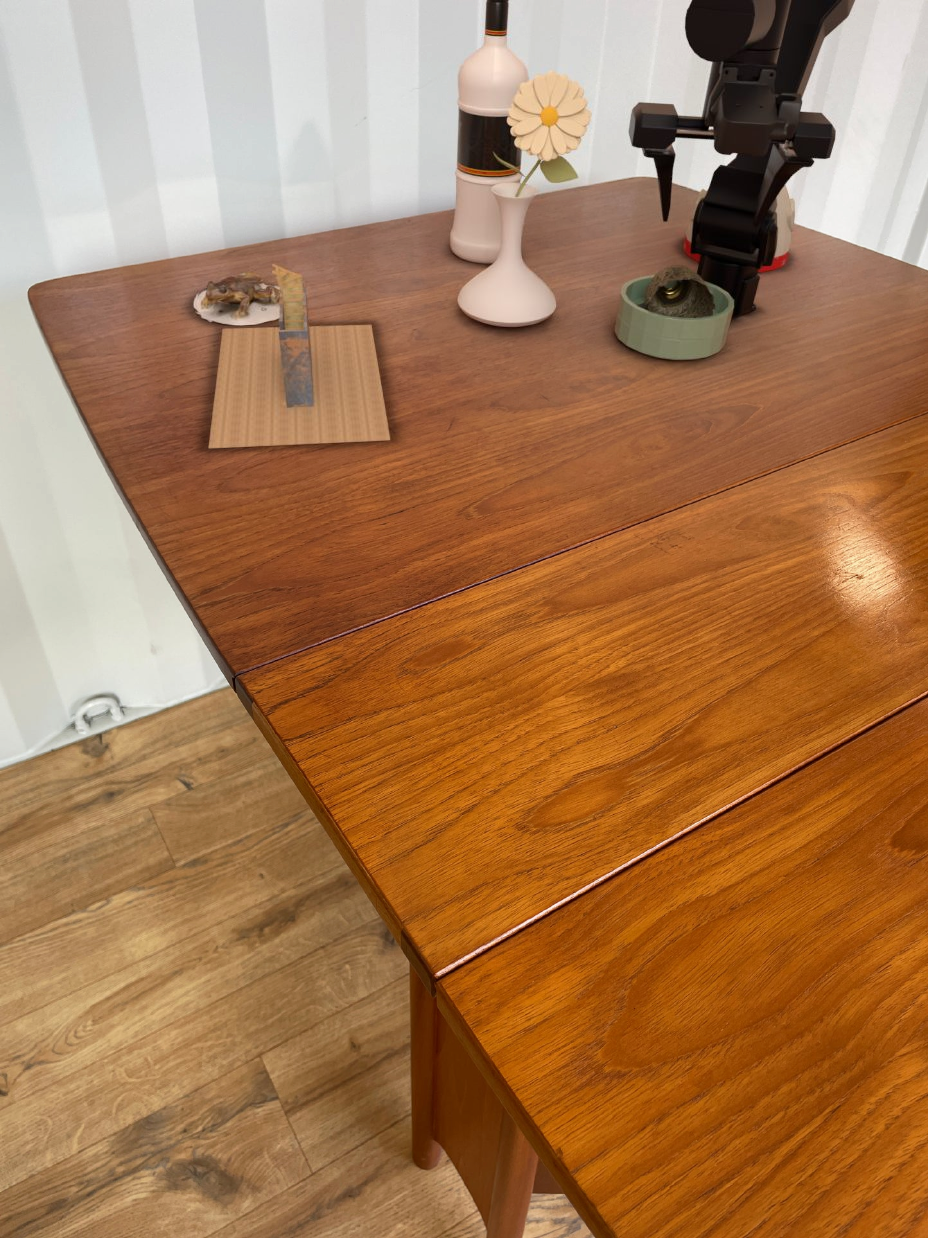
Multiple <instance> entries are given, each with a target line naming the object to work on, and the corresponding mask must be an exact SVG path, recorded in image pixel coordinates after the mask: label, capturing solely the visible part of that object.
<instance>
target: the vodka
mask: <svg viewBox="0 0 928 1238" xmlns="http://www.w3.org/2000/svg"><path fill="white" fill-rule="evenodd" d="M509 1H510V0H486V2H485V20H484V21H485V22H484V36H483V44H482V46H481V47H479V48H478V49H477V50H476V51H475V52H473V53H472V54H471V55H470V56H468V57H467V58H466V59H464V61H463V62H462V64H461V65H460V67H459V70H458V73H457V90H458V91H457V92H458V98H457V100H456V101H457V102H456V103H457V106H458V111H457V113H458V115H457V145H456V146H457V147H456V150H457V151H456V169H455V171H454V174H455V192H456V193H455V205H454V206H455V207H454V216H453V221H452V227H451V230H450V234H449V246H450V250H451V251H452V253H453V254H454V255H456V256H457V257H459V258H460V259H461V260H463V261H467V262H470V263H474V264H483V265H485V264H486V265H492V264H493V263H494V262H495V261H496V260H497V258H498V256H499V252H500V247H501V231H502V229H501V215H500V209H499V205H498V202H497V200H496V198H495V196H494V194H493V193H492V191H491V188H492V187H493V186H494V185H497V184H500V183H521V181H522V177H523V176H522V175H520V174H519V173H518V172H516V171H514V170H513V169H511V168H509V167H507V166H505V165H504V164H502V163H501V162H499V161H498V160H497V159H496V157H495V155H496V156H497V157H498V158H500V159H501V160H503V161H504V162H507V163H509V164H511V165H513V166H514V167H516V168H517V169H518V170H519V171H520V172H521V173H522V171H521V169H522V157H523V156H522V155H523V151H522V150H521V149H520V148H518V147H516V146H515V144H514V141H515V139H516V137H515V136H513V135H512V134H511V132H510V131H511V128H512V127H513V126H510V125H509V124H508V123H507V118H508V117H509V114H508V112H509V109H510V108H512V107H511V104H512V102H513V101H514V97H515V95H517V91H518V90H519V87H520V84H521V83H523V82H525V83H527V82H528V81H530V76H529V72H528V69H527V67H526V65H525V63H524V62H523V60H522V59H520V58H519V57H518V56H517V55H516V54H515V53H514V51H512V50H511V49H510V48H509V47H508V45H507V43H508V38H507V37H508V22H509V5H510V3H509ZM493 152H494V153H495V155H494V153H493Z"/></svg>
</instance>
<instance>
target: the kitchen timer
mask: <svg viewBox="0 0 928 1238" xmlns="http://www.w3.org/2000/svg"><path fill="white" fill-rule="evenodd" d="M707 191H708V189H707V190H706V189H704V188H701V190H700V192H699V194H698V197H697V199H696V202H695V205H694V207H693V209H692V213H691V215H690V218H689V219H690V221H689V223H688V226H687V229H686V232H685V236H684V240H683V241H684V242H683V246H682V248H683V251H684V253H685V254H686V255H687V256H688V257H689V258H690V259H691V260H694V261H696V262H697V263H699V259H700V255H699V254H692V253H690V251H691V239H692V228H693V219H694V215H695V211H696V208H697V206H698V203H699V201H700V200H701V199H702V198H703V197H705V195H706V193H707ZM776 198H777V208H776V211H775V212H777V227H778V239H777V248H776V253H775V257H774V260H773V264H772V265H771V266H763V267H762V268H761V269H759V270H758V273H762V272H770V271H773V270H777V269H780V268H782V267H783V266H784V265H786V264H787V261H788V257H789V253H790V250H791V245H792V240H793V232H794V229H795V217H796V201H795V199H794V198H793V197H790V194H789V191H788V187H787V186H786V184H785V186H784V187H783V188H782V190H781V191H780V193H779V194H778V196H777V197H776Z"/></svg>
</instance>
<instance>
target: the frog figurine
mask: <svg viewBox="0 0 928 1238" xmlns="http://www.w3.org/2000/svg"><path fill="white" fill-rule="evenodd" d="M206 287H207V288H204V289H203V290H201V292H198V293H196V294H195V297H194V300H193V308H194V309H195V313H196V314H198V315H199V316H200V318H201V319H203V320H206V321H208V322H209V323H213V322H215V323H219V324H223V325H229V326H251V325H253V326H254V325H260V324H264V323H266V322H272V321H276V320H279V310H280V297H279V292H280V287H279V284H274V285H270V284H269V285H268V284H265V283H264V279H263V277H262V276H261V275H259V274H258V273H256V272H255V270H252V269H250V270H248V271H246V272H242V273H240V274H239V275H237V276H236V277H234V276H231V275H230V276H227V277H225V278H223V279H221V281H218V282H213V280H209V281H208V282H207V285H206Z"/></svg>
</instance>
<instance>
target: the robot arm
mask: <svg viewBox="0 0 928 1238" xmlns="http://www.w3.org/2000/svg"><path fill="white" fill-rule="evenodd" d="M855 2H856V0H691V1H690V4H689V5H688V8H687V9H686V13H685V18H684V31H685V38H686V40H687V43H688V46H689V47H690V49H691V50H692V51H693V53H694V54H695V55H696V56H698V58H700V59H702V60H704V61H706V62H710V63H711V66H710V72H709V77H708V82H707V87H706V92H705V98H704V103H703V108H702V109H703V110H702V113H701V116H696V115H679V114H678V111H677V109H676V107H675V104H674V103H661V102H660V103H659V102H641V101H639V102H638V103H637V104H635V106H633V108H631V112H630V119H629V125H628V126H629V127H628V136H629V140H630V145H631V147H634V148H637V149H641V150H642V155H643V157H645V158H648V159H653V162H654V166H655V172H656V176H657V177H656V178H657V185H658V192H659V200H660V209H661V217H662V222H663V223H667V222H668V221H669V216H670V211H671V202H672V189H673V176H674V166H675V160H676V152H675V149H674V147H673V144H674V143H675V142H676V139H690V140H710V141H713V149H714V151H716V153H717V154H720V155H723V156H731V155H733V154H736V156H735V157H734V159H732V160H731V161H730V162H729V163H728V164H726V165H725V164H720V165H719V166H718V167H717V168H716V169H715V170H714V171H713V174H712V177H711V180H710V182H709V186H708V188H707V190H708V191H707V190H706V191H707V193H706V195H705V197H703V198H702V199H701V200H700V201H699V203H698V206H697V208H696V211H695V215H694V219H693V228H692V239H691V251H690V253H692V254H699V255H700V259H699V262H698V265H697V269H696V273H697V274H698V275H699V276H700V277H701V278H702V279H703V281H706V282H708V283H711V284H713V285H716V286H718V287H720V288H721V289H723V290H725V291H726V292H728V293H729V294H730V296H731V297H732V298H733V300H734V309H733V313H732V317H731V321H732V320H733V319H737V318H738V317H741V316H744V315H746V314H748V313H750V312H753V311H755V310H756V309H757V304H755V303H754V302H755V299H756V295H757V291H758V289H759V283H760V280H761V276H760V274H759V272H758V270H759V269H761V268H762V267H763V266H771V265H772V264H773V260H774V257H775V253H776V248H777V239H778V227H777V212H775V211H776V208H777V198H776V197H777V196H778V194H779V193H780V191H781V190H782V188H783V187H784V186H785V185H786V184H787V183H788V182H789V180H790V179H791V178H792V177H793V176H794V175H795V174H796V173H797V172H799V171H801V169H803V168H812V167H813V165H814V164H815V159H816V160H817V159H818V160H827V159H830V158H831V155H832V152H833V149H834V145H835V142H836V132H837V131H836V128H835V126H834V125H833V123H832V122H831V121H830V120H829V119H828V118H827V117H826V115H824V113H823V112H818V111H817V112H815V111H813V112H811V111H801V110H802V106H803V96H804V94H805V91H806V89H807V86H808V83H809V81H810V78H811V75H812V73H813V70H814V68H815V64H816V62H817V59H818V56H819V54H820V52H821V49H822V46H823V43H824V40H825V39H826V37H828V36H829V35H830V34H831V33H832V32H833V31H834V30H836V29H837V28H838V27H839V26H840V25H841V24H842V23H843V22H844V21H845V20H846V19H848V17H849V16H850V14H851V11H852V9H853V7H854V4H855ZM710 128H711V129H710Z"/></svg>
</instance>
